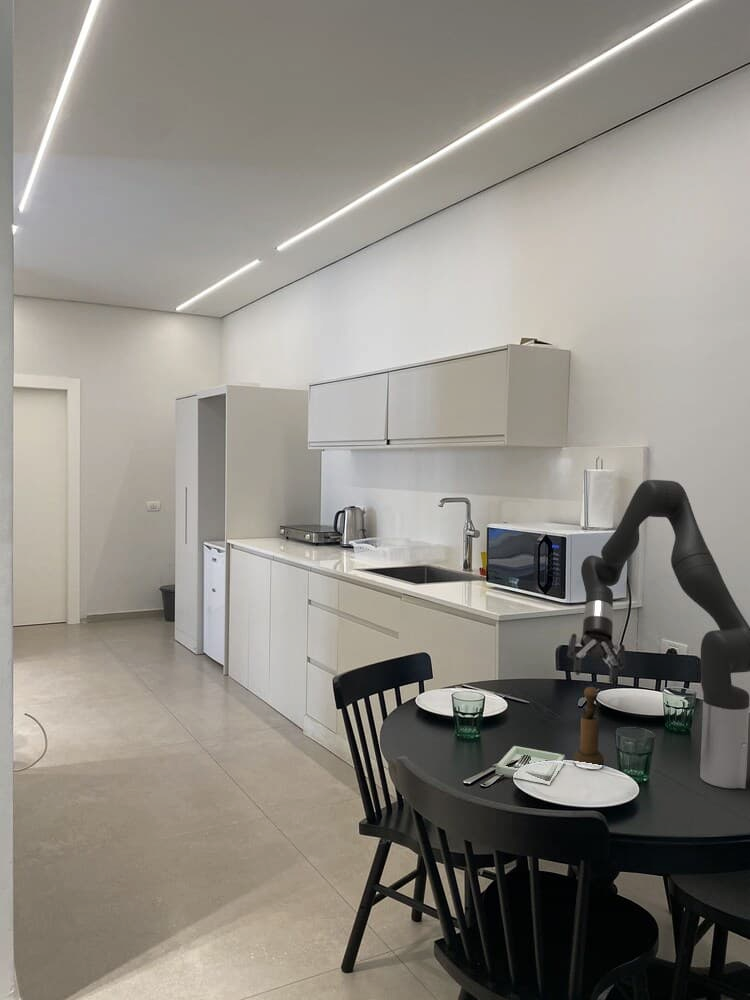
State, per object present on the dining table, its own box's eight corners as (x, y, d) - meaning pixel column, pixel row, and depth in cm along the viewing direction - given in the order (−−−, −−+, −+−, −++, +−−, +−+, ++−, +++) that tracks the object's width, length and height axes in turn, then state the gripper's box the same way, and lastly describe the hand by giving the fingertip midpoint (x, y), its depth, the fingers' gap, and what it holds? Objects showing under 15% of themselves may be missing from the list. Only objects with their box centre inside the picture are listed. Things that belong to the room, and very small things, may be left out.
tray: (564, 763, 185) (564, 754, 185) (549, 785, 173) (549, 776, 173) (513, 754, 191) (514, 745, 191) (495, 774, 178) (495, 765, 178)
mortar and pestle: (568, 764, 185) (570, 687, 184) (582, 757, 190) (584, 681, 189) (595, 772, 180) (597, 693, 179) (608, 764, 185) (611, 687, 184)
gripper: (575, 609, 211) (570, 664, 201) (629, 621, 210) (627, 677, 200) (567, 622, 217) (563, 677, 207) (620, 634, 216) (618, 690, 206)
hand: (594, 677), depth 204 cm, fingers open, 8 cm apart
